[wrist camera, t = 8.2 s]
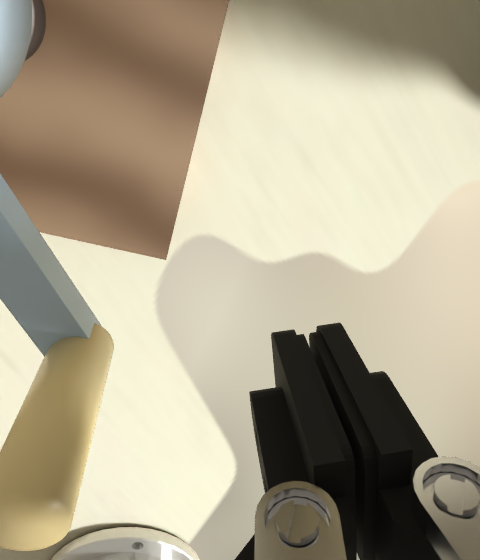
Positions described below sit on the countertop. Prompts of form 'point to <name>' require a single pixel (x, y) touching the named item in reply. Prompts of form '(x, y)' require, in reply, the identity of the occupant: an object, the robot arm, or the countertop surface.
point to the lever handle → (57, 356)
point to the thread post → (109, 117)
